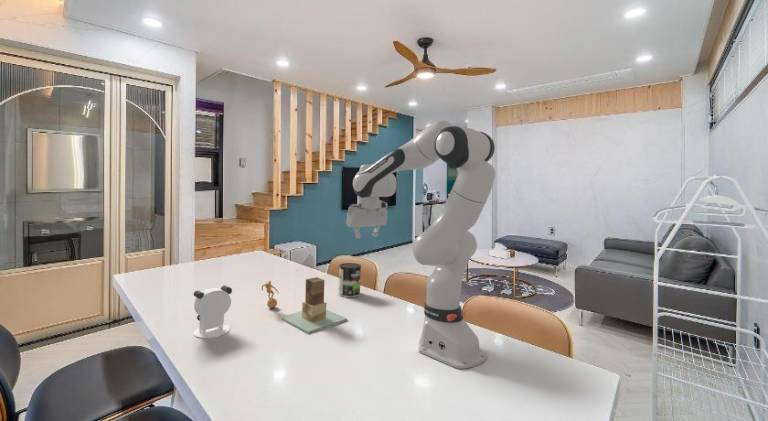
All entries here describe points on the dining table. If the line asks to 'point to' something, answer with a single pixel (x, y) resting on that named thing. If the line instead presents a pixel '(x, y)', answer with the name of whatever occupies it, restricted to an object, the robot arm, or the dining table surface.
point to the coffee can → (349, 279)
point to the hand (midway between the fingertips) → (366, 237)
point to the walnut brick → (314, 291)
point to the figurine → (271, 301)
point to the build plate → (311, 327)
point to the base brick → (313, 311)
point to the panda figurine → (212, 311)
